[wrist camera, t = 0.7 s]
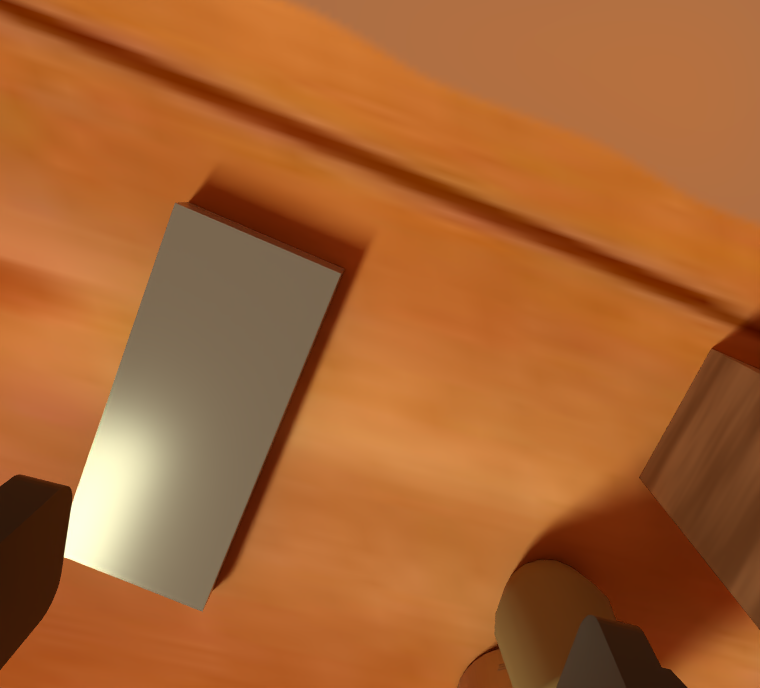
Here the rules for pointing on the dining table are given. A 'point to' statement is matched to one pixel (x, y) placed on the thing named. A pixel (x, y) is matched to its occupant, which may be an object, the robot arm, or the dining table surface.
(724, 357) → the stand
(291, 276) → the board
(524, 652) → the squeeze bottle
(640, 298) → the dining table surface
